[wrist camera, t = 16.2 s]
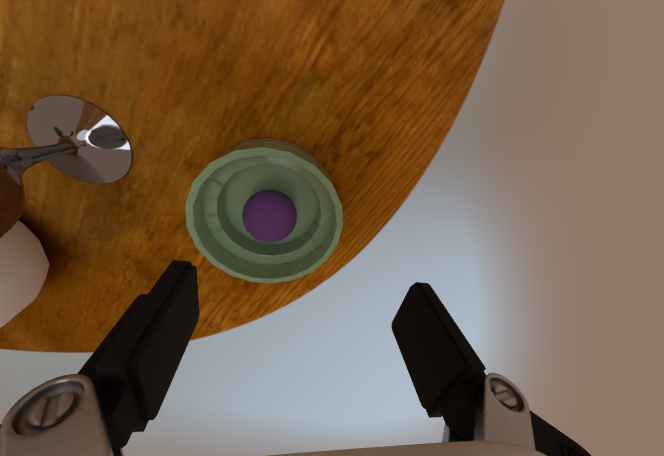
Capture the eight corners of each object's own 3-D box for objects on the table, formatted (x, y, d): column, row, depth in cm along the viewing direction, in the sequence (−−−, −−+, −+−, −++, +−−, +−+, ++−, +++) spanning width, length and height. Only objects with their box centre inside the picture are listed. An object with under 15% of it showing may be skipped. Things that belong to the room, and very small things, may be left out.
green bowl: (347, 152, 23) (359, 166, 19) (321, 258, 30) (326, 287, 25) (203, 122, 20) (179, 130, 16) (206, 248, 26) (190, 278, 22)
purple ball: (300, 186, 24) (301, 207, 20) (293, 228, 26) (292, 255, 22) (249, 178, 23) (237, 197, 19) (246, 222, 25) (235, 249, 21)
